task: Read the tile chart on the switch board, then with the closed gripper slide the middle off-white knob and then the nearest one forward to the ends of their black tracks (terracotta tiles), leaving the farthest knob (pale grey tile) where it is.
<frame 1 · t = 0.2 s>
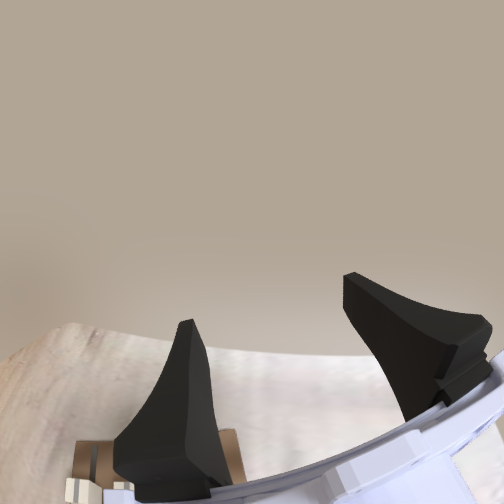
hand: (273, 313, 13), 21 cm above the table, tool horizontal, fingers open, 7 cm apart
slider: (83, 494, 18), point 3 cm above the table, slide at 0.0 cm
slider middle: (133, 498, 18), point 3 cm above the table, slide at 0.0 cm
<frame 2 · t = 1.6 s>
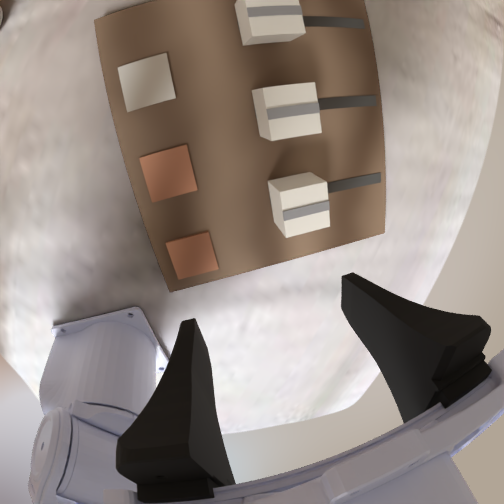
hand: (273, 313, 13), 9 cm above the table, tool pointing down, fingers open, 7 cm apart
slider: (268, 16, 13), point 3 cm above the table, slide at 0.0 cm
slider middle: (286, 109, 16), point 3 cm above the table, slide at 0.0 cm
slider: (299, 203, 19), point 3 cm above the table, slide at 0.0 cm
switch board: (261, 125, 18), on the table
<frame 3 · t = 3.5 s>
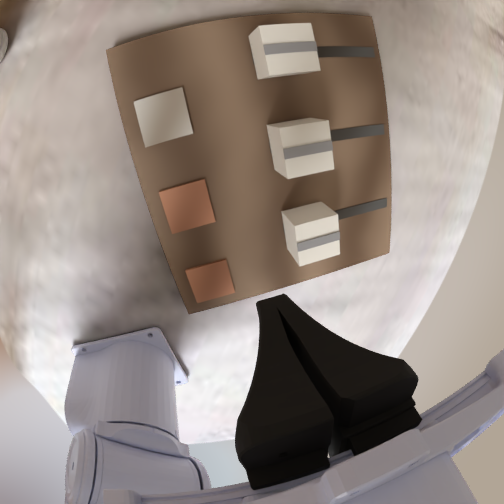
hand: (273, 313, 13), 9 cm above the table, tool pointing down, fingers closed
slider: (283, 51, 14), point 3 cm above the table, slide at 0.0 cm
slider middle: (300, 146, 17), point 3 cm above the table, slide at 0.0 cm
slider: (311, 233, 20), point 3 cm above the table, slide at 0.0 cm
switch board: (275, 157, 19), on the table
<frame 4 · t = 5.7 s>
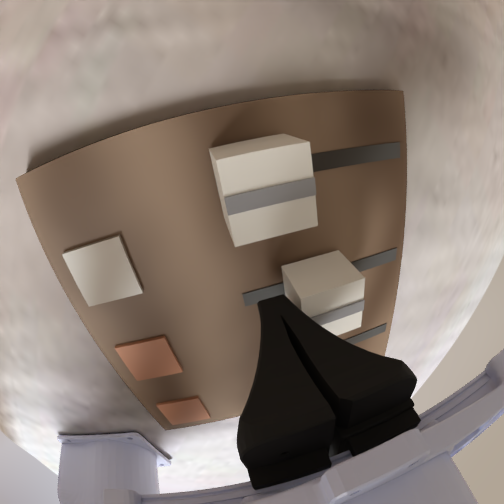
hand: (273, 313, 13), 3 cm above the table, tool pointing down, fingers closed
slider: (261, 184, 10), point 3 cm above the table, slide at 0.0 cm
slider middle: (323, 298, 14), point 3 cm above the table, slide at 2.1 cm, touching gripper
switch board: (252, 300, 16), on the table
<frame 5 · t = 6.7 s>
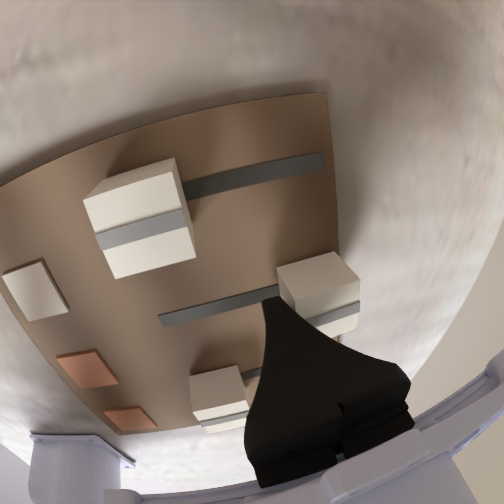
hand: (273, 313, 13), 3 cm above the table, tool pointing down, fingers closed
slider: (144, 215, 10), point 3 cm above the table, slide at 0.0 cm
slider middle: (318, 299, 14), point 3 cm above the table, slide at 6.2 cm, touching gripper
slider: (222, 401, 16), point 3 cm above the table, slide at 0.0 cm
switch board: (176, 320, 16), on the table
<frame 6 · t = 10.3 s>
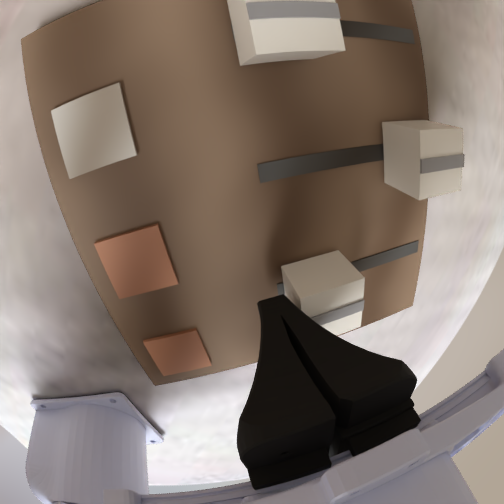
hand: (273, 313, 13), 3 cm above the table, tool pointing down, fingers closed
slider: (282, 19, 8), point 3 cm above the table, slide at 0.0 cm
slider middle: (424, 156, 11), point 3 cm above the table, slide at 6.1 cm
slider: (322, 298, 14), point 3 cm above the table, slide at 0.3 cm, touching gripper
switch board: (267, 187, 13), on the table
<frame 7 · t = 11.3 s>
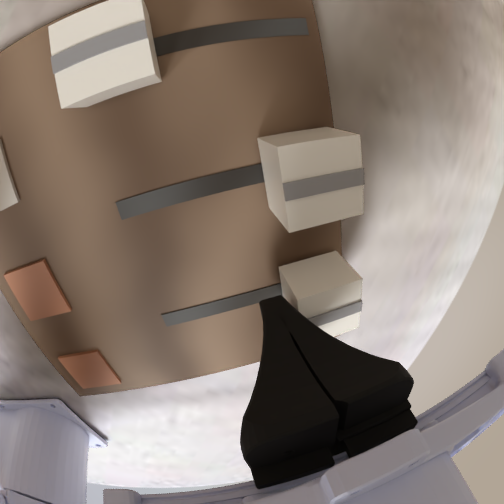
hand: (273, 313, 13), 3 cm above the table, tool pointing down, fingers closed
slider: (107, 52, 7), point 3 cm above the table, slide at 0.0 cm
slider middle: (311, 174, 11), point 3 cm above the table, slide at 6.1 cm
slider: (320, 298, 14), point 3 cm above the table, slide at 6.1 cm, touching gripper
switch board: (140, 220, 13), on the table
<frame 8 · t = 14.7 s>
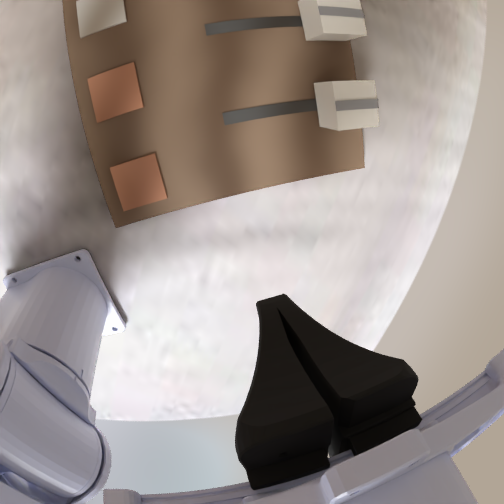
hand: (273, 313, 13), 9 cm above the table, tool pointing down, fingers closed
slider middle: (332, 16, 13), point 3 cm above the table, slide at 6.1 cm
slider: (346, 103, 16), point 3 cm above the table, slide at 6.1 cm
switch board: (214, 45, 15), on the table
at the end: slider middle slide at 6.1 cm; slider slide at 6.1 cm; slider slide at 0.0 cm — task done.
